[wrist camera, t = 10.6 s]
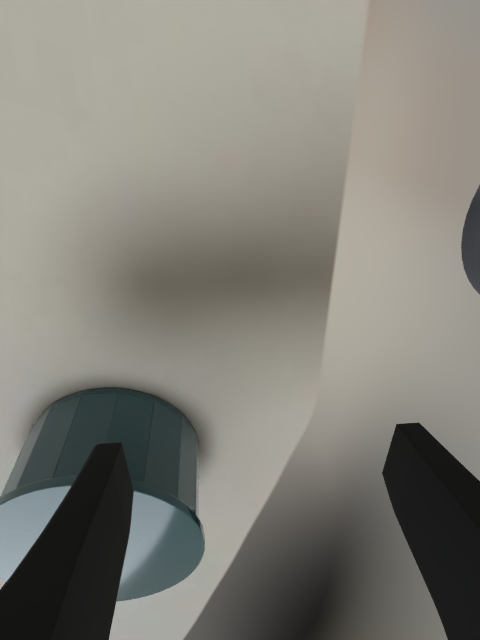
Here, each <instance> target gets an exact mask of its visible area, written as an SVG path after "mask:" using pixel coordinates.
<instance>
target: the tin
mask: <svg viewBox="0 0 480 640" xmlns="http://www.w3.org/2000/svg"><path fill="white" fill-rule="evenodd" d="M119 442H122V446H123V450H124V454H125V458H126V462H127V466H128V470H129V474H130V478H131V480H133V481H138V482H141V483H144V484H148V485H151V486H154V487H156V488H158V489H161V490H163V491H166V492H167V493H169V494H171V495H173V496H175V497H176V498H178V499H179V500H181V501H182V502H184V503H185V504H186V505H187V506H188V507H189V508H190V509H191V510H192V511H193V512H194V513H195V514H196V516H197V517H198V518H199V453H198V439H197V435H196V433H195V430H194V428H193V426H192V425H191V423H190V421H189V420H188V419H187V418H186V417H185V416H184V415H183V414H182V413H181V412H180V411H179V410H178V409H176V408H175V407H173V406H172V405H171V404H169V403H167V402H165V401H163V400H161V399H160V398H157V397H154V396H152V395H149V394H146V393H142V392H139V391H134V390H128V389H119V388H100V389H90V390H86V391H81V392H77V393H74V394H71V395H68V396H66V397H64V398H62V399H60V400H58V401H57V402H55V403H53V404H52V405H50V406H49V407H48V408H47V409H46V410H45V411H44V412H43V413H42V414H41V415H40V417H39V418H38V420H37V422H36V423H35V424H34V425H33V426H32V428H31V430H30V433H29V435H28V437H27V439H26V441H25V444H24V446H23V448H22V450H21V452H20V455H19V457H18V459H17V461H16V463H15V466H14V468H13V470H12V472H11V474H10V477H9V479H8V481H7V483H6V485H5V488H4V490H3V492H2V494H1V496H0V498H1V497H2V496H4V495H5V494H7V493H9V492H11V491H12V490H15V489H17V488H19V487H22V486H24V485H27V484H30V483H33V482H37V481H40V480H45V479H50V478H55V477H64V476H76V475H78V474H79V472H80V471H81V469H82V467H83V466H84V464H85V462H86V460H87V458H88V457H89V455H90V453H91V451H92V449H93V448H94V447H95V446H96V445H97V444H104V443H119Z"/></svg>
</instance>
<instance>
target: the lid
mask: <svg viewBox="0 0 480 640" xmlns="http://www.w3.org/2000/svg"><path fill="white" fill-rule="evenodd" d="M77 476H78V475H76V476H64V477H55V478H50V479H45V480H40V481H37V482H33V483H30V484H27V485H24V486H22V487H19V488H17V489H15V490H12V491H11V492H9V493H7V494H5V495H4V496H2V497H1V498H0V578H1V579H2V580H4V581H5V582H7V580H8V579H9V578H10V576H11V575H12V574H13V572H14V571H15V570H16V568H17V567H18V565H19V564H20V562H21V561H22V560H23V558H24V557H25V555H26V554H27V553H28V551H29V550H30V548H31V547H32V546H33V544H34V543H35V541H36V540H37V539H38V537H39V536H40V534H41V533H42V531H43V530H44V528H45V527H46V525H47V524H48V522H49V521H50V519H51V517H52V516H53V514H54V513H55V511H56V510H57V508H58V507H59V505H60V504H61V502H62V500H63V499H64V497H65V496H66V494H67V492H68V491H69V489H70V488H71V486H72V484H73V483H74V481H75V479H76V478H77ZM131 482H132V486H133V490H134V493H133V505H132V516H131V526H130V534H129V539H128V545H127V550H126V555H125V560H124V565H123V570H122V575H121V580H120V585H119V590H118V595H117V599H116V601H124V600H130V599H136V598H140V597H144V596H148V595H152V594H155V593H158V592H161V591H163V590H165V589H168V588H170V587H172V586H174V585H176V584H177V583H179V582H181V581H182V580H184V579H185V578H186V577H188V576H189V575H190V574H191V573H192V572H193V571H194V570H195V569H196V567H197V566H198V565H199V563H200V561H201V559H202V557H203V553H204V545H205V535H204V530H203V526H202V524H201V522H200V520H199V518H198V517H197V516H196V514H195V513H194V512H193V511H192V510H191V509H190V508H189V507H188V506H187V505H186V504H185V503H184V502H182V501H181V500H179V499H178V498H176V497H175V496H173V495H171V494H169V493H167V492H166V491H163V490H161V489H158V488H156V487H154V486H151V485H148V484H144V483H141V482H138V481H133V480H131Z"/></svg>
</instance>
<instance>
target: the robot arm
mask: <svg viewBox="0 0 480 640" xmlns="http://www.w3.org/2000/svg"><path fill="white" fill-rule="evenodd" d="M382 474H383V477H384V481H385V484H386V487H387V490H388V494H389V497H390V500H391V503H392V506H393V509H394V512H395V514H396V517H397V519H398V522H399V524H400V526H401V528H402V531H403V533H404V536H405V538H406V540H407V542H408V545H409V547H410V549H411V551H412V553H413V556H414V558H415V560H416V563H417V565H418V567H419V569H420V572H421V574H422V576H423V578H424V581H425V583H426V585H427V587H428V590H429V592H430V594H431V597H432V599H433V601H434V604H435V606H436V608H437V611H438V614H439V616H440V618H441V621H442V624H443V627H444V629H445V632H446V635H447V638H448V640H480V481H479V480H478V479H477V478H475V476H473V475H472V474H471V473H470V472H469V471H468V470H467V469H466V468H465V467H464V466H463V465H462V464H461V463H460V462H459V461H458V460H457V459H456V458H454V456H453V455H451V453H449V452H448V451H447V450H446V449H445V448H444V447H443V446H442V445H441V444H440V443H439V442H438V441H437V440H436V439H435V438H434V437H433V436H432V435H431V434H430V433H429V432H428V431H427V430H426V429H425V428H424V427H423V426H422V425H421V424H420V423H407V424H397V425H396V428H395V431H394V435H393V438H392V441H391V445H390V448H389V452H388V455H387V458H386V462H385V465H384V469H383V472H382ZM133 493H134V490H133V486H132V482H131V478H130V474H129V470H128V466H127V462H126V458H125V454H124V450H123V446H122V442H119V443H104V444H97V445H96V446H95V447H94V448H93V449H92V451H91V453H90V455H89V457H88V458H87V460H86V462H85V464H84V466H83V467H82V469H81V471H80V472H79V474H78V476H77V478H76V479H75V481H74V483H73V484H72V486H71V488H70V489H69V491H68V492H67V494H66V496H65V497H64V499H63V500H62V502H61V504H60V505H59V507H58V508H57V510H56V511H55V513H54V514H53V516H52V517H51V519H50V521H49V522H48V524H47V525H46V527H45V528H44V530H43V531H42V533H41V534H40V536H39V537H38V539H37V540H36V541H35V543H34V544H33V546H32V547H31V548H30V550H29V551H28V553H27V554H26V555H25V557H24V558H23V560H22V561H21V562H20V564H19V565H18V567H17V568H16V570H15V571H14V572H13V574H12V575H11V576H10V578H9V579H8V580H7V582H6V583H5V584H4V586H3V587H2V588H1V590H0V640H109V635H110V629H111V624H112V619H113V614H114V609H115V604H116V599H117V595H118V590H119V585H120V580H121V575H122V570H123V565H124V560H125V555H126V550H127V545H128V539H129V534H130V526H131V516H132V505H133Z"/></svg>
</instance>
